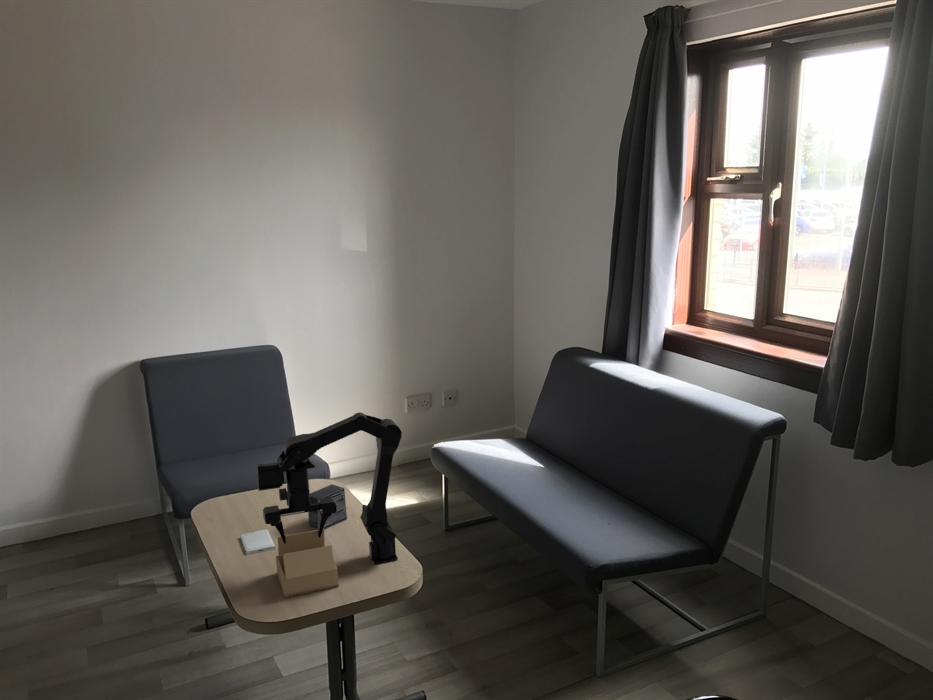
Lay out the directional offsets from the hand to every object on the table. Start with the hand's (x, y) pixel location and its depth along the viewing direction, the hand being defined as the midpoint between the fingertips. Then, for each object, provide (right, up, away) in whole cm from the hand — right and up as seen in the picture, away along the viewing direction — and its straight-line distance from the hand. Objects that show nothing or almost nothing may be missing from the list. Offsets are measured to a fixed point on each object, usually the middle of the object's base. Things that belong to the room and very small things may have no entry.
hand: (302, 540), depth 210 cm
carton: (+2, -10, -2) cm, 10 cm away
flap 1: (-1, -1, +2) cm, 2 cm away
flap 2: (+4, -3, -9) cm, 10 cm away
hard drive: (-17, -7, +21) cm, 28 cm away
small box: (+1, -3, +33) cm, 34 cm away
